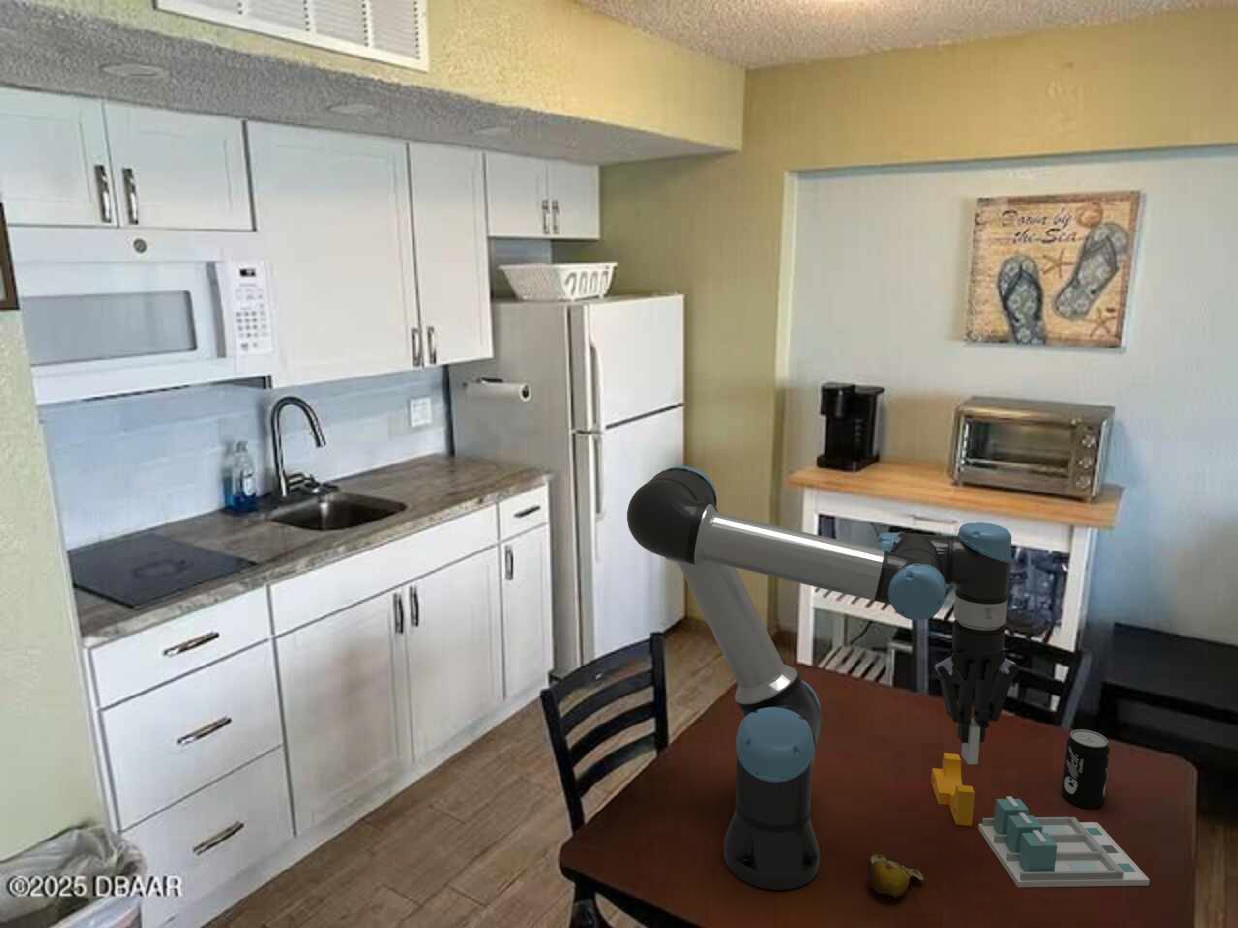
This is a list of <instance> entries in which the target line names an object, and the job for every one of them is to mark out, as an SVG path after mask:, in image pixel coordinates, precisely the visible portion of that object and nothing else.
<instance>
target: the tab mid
mask: <svg viewBox="0 0 1238 928" xmlns="http://www.w3.org/2000/svg"><path fill="white" fill-rule="evenodd" d="M1042 829H1043V827H1042V826H1041V824H1040V823H1039V822H1038V821H1037V819H1036V818H1035V816H1034V815H1031V814H1030V815H1029V814H1028V815H1025V813H1019V815H1016V816H1008V824H1007V835H1006V844H1007V846H1008V847H1009V849H1010V850H1011V851H1012V853H1020V843H1021V833H1033V830H1038V831H1039V832H1040V833H1042Z"/></svg>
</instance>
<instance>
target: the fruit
mask: <svg viewBox="0 0 1238 928" xmlns="http://www.w3.org/2000/svg"><path fill="white" fill-rule="evenodd" d="M870 863H871V866H870V869H869V870H868V877H867V878H868V881H869V882H868V883H869V886H870V888H871V890H872V891H873V892H876V893H879V894H886V895H888V896H892V897H893V898H898V897H902V896H904V895H905V892H906V891H907V890H908V887H909V885H910V879H911V878H912V877H916V878H917V879H918V880H919V882H923V881H924V876H923V875H922V873H921V872H920V871H919V870H918V869H916V868H915V869H913V868H910V869H909V868H907V867H905V866H904V865H902V866H901V865H900V864H899V863H897V862H894V861H892V860H890V859H889V860H888V859H886V857H885V855H882V854H881V853H880V854H878V853H876V854H874V855H871V856H870Z"/></svg>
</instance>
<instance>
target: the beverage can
mask: <svg viewBox="0 0 1238 928" xmlns="http://www.w3.org/2000/svg"><path fill="white" fill-rule="evenodd" d="M1108 744H1109V741H1108V739H1107V738H1106V737H1105V736H1104V735H1102V734H1101V733H1099V732H1096V731H1093V730H1090V729H1084V728H1083V729H1081V728H1080V729H1079V728H1078V729H1074V730H1072V731H1071V732H1070V736H1069V737H1068V738H1067V739H1066V746H1065V747H1066V748H1065V756H1064V765H1063V773H1062V783H1061V794H1062V795H1063V796H1064V797H1065V799H1066V800H1067V801H1068V802H1069V803H1071V804H1073V805H1074V806H1076V807H1081V808H1083V809H1095V808H1097V807H1100V806H1101V805H1103V804H1104V801H1105V794H1106V784H1107V777H1108V770H1109V769H1108V768H1109V760H1110V753H1111V750H1110V749H1111V748H1110V747H1109V745H1108Z"/></svg>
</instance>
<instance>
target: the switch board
mask: <svg viewBox="0 0 1238 928" xmlns="http://www.w3.org/2000/svg"><path fill="white" fill-rule="evenodd" d="M1034 817H1035V816H1034ZM1035 818H1036V819H1037V821H1038V822H1039V823H1040V824H1041V826H1042V827H1043V829H1042V833H1048V834H1049V836H1050V837H1051V838H1052V839H1053V841H1054V842H1055V843H1056V844H1057V853H1056V862H1055V871H1048V872H1026V871H1025V870H1024V868H1023V867H1022V865H1021V864H1020V863H1019V853H1012V851H1011V850H1010V849H1009V847H1008V846H1007V844H1006V835H999V833H998V832H997V830H996V829H995V828H994V817H983V818H982V819H981V821H982V822H981V823H978V825H977V830H978V831H979V832H980V834H981V836H982V837H983V838H984V840H985V842H986V843H987V844H988V846H989V847H990V849H991V851H992V852H993V853H994V855H995V856H996V857H997V859H998V860H999V862H1000V863H1001V865H1002V867H1003V868H1004V869H1005V871H1006V872H1007V874H1008V875H1009V877H1010V878H1011V879H1012V881H1013V883H1014V884H1015V886H1016V887H1017V888H1063V887H1064V888H1065V887H1067V888H1068V887H1069V888H1071V887H1073V888H1074V887H1077V888H1078V887H1079V888H1080V887H1139V886H1140V887H1141V886H1143V887H1145V886H1146V887H1147V886H1148V887H1149V886H1150V880H1151V879H1150V878H1149V877H1148V876H1147V875H1146V874H1145V873H1144V872H1143V871H1142V870H1141V869H1140V867H1138V865H1137V864H1136V863H1135V862H1134V861H1133V860H1132V859H1131V858H1130V856H1129V855H1128V854H1127V853H1126V852H1125V851H1124V850H1123V848H1121V847H1120V845H1119V844H1118V843H1116V841H1115V840H1114V838H1112V837H1111V835H1109V834H1108V833H1107V831H1106V830H1105V829H1104V828H1103V827H1102V825H1100V824H1099V823H1098V822H1096V821H1095V822H1094V821H1089V822H1088V821H1086V822H1081V821H1079V820H1078V819H1077V817H1075V816H1046V817H1045V816H1041V817H1040V816H1038V817H1035Z"/></svg>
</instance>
